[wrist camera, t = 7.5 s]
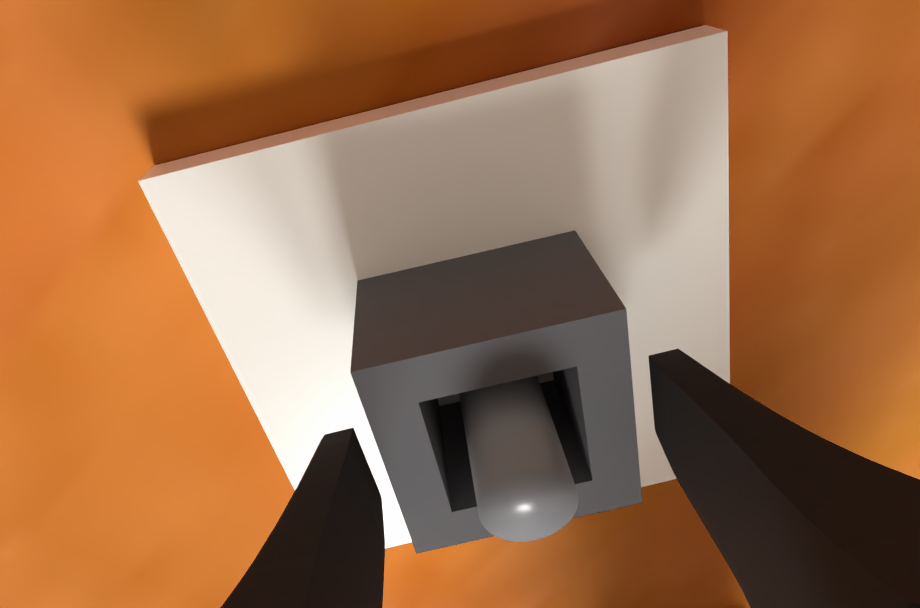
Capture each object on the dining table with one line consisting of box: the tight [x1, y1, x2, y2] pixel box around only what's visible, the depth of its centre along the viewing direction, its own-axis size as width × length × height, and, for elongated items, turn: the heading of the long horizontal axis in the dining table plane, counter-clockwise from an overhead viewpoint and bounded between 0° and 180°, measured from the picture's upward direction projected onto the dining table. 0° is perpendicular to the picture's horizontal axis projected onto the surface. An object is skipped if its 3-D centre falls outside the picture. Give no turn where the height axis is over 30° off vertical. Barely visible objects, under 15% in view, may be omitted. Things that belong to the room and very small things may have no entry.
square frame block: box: [350, 230, 642, 554], centre depth 14 cm, size 5×5×4 cm
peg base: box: [138, 25, 730, 548], centre depth 14 cm, size 12×12×6 cm
